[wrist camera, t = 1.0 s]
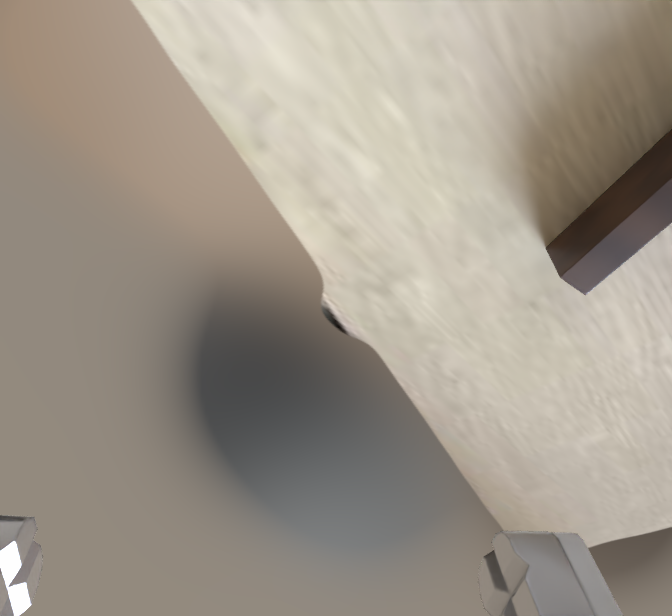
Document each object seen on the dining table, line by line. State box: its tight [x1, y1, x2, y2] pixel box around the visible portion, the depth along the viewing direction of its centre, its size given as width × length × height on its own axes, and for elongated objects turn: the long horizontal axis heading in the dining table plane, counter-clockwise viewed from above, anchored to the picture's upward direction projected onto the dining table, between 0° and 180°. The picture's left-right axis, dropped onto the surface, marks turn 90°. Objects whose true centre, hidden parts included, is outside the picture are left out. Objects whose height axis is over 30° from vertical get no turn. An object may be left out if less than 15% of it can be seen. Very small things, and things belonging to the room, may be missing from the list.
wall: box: [546, 129, 672, 295], centre depth 41 cm, size 20×3×5 cm, turn 146°
